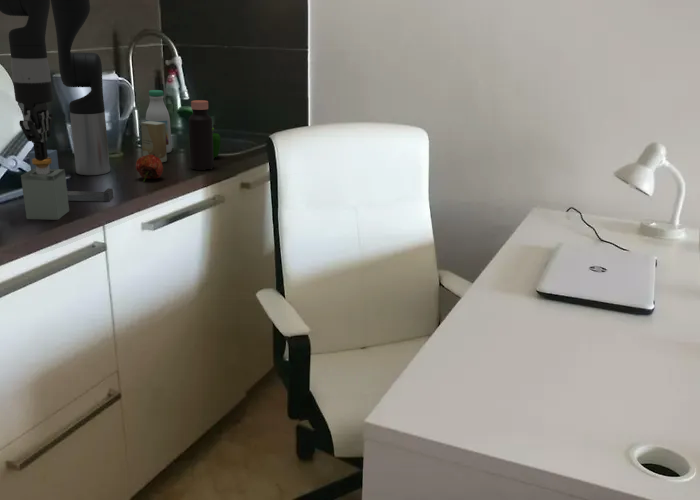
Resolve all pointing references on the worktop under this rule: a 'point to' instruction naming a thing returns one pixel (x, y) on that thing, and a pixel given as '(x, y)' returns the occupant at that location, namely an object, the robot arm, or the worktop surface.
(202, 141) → the vinegar
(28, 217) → the grey upright block
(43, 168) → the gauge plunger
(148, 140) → the skincare box
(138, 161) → the red round fruit
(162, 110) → the milk bottle
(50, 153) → the upright slate-blue block
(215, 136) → the bell pepper
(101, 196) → the rail
